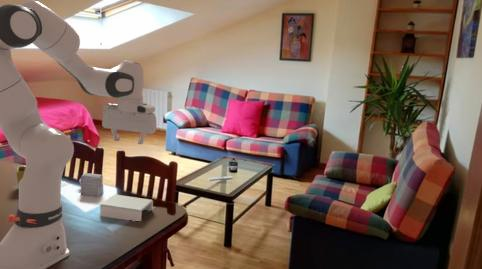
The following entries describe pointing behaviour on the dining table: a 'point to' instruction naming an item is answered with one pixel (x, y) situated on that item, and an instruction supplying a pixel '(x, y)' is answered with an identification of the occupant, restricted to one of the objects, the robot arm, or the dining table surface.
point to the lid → (126, 203)
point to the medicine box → (91, 184)
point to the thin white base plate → (123, 213)
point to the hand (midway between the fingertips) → (128, 142)
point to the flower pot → (20, 173)
